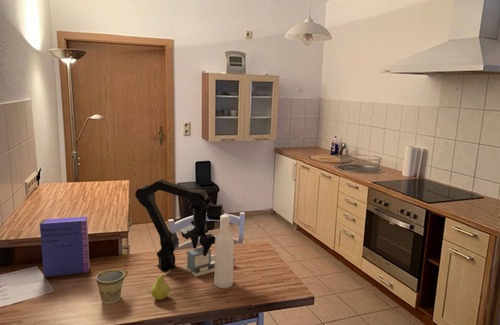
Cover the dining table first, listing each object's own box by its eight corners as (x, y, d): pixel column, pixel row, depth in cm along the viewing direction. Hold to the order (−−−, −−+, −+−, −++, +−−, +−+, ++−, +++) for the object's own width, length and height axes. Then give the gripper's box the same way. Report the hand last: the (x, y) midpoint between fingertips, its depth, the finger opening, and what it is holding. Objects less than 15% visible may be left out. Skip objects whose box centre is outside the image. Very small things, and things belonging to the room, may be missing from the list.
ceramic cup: (108, 310, 136) (107, 284, 134) (91, 301, 141) (90, 276, 139) (136, 294, 147) (135, 270, 145) (119, 286, 152) (118, 263, 150)
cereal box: (89, 267, 167) (86, 216, 163) (88, 272, 163) (85, 220, 158) (46, 272, 162) (42, 219, 157) (43, 277, 157) (39, 223, 153)
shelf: (195, 276, 162) (195, 269, 161) (185, 267, 170) (185, 260, 169) (234, 265, 174) (234, 258, 173) (222, 257, 182) (222, 250, 181)
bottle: (236, 281, 159) (238, 214, 153) (227, 290, 152) (229, 220, 146) (219, 277, 162) (221, 211, 156) (210, 285, 155) (211, 217, 149)
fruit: (154, 293, 148) (153, 265, 146) (173, 294, 148) (172, 266, 146) (149, 302, 142) (148, 273, 139) (169, 303, 141) (168, 274, 139)
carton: (187, 267, 167) (187, 250, 165) (205, 262, 172) (205, 246, 171) (192, 272, 163) (192, 255, 161) (210, 267, 168) (210, 250, 167)
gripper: (173, 215, 166) (174, 248, 169) (193, 229, 151) (193, 264, 154) (196, 211, 172) (196, 243, 175) (216, 223, 157) (216, 258, 160)
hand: (199, 252), depth 166 cm, fingers open, 9 cm apart
